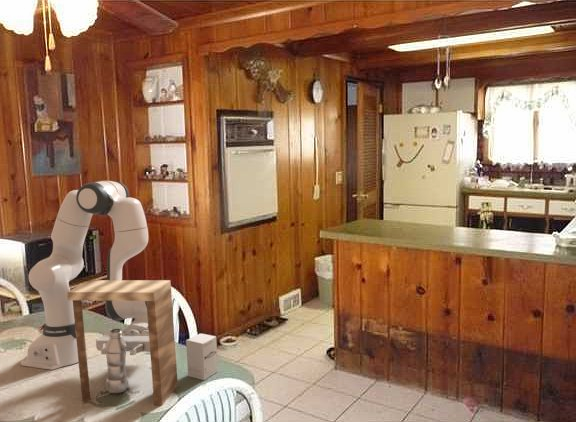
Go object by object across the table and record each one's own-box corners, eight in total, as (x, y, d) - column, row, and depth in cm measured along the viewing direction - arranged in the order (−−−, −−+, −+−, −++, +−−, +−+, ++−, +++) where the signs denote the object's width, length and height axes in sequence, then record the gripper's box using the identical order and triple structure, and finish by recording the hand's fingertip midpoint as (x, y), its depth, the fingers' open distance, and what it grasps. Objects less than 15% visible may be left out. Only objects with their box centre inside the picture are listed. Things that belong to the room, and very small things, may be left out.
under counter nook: (77, 401, 155) (66, 292, 151) (99, 382, 168) (89, 280, 163) (162, 405, 151) (153, 292, 147) (177, 384, 164) (170, 280, 160)
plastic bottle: (120, 397, 157) (119, 336, 154) (101, 393, 159) (99, 333, 156) (132, 387, 163) (131, 328, 160) (114, 384, 165) (112, 325, 162)
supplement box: (204, 381, 166) (202, 343, 164) (187, 376, 170) (185, 339, 168) (218, 372, 172) (216, 336, 171) (202, 367, 176) (200, 332, 174)
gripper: (106, 326, 172) (85, 341, 159) (164, 326, 170) (147, 343, 156) (108, 343, 173) (87, 361, 160) (165, 345, 170) (149, 362, 157)
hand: (117, 352), depth 158 cm, fingers open, 8 cm apart
